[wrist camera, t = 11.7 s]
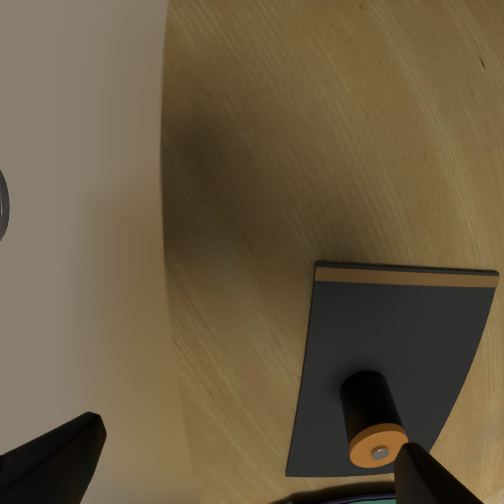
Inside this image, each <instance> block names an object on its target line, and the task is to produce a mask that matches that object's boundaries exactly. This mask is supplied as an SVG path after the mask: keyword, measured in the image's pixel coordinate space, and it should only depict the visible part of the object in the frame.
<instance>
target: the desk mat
mask: <svg viewBox="0 0 504 504" xmlns="http://www.w3.org/2000/svg"><path fill="white" fill-rule="evenodd" d="M499 277H500V276H499V273H498V272H497V271H481V270H462V269H443V268H424V267H406V266H388V265H370V264H353V263H335V262H318V261H316V265H315V275H314V285H313V295H312V304H311V313H310V321H309V329H308V337H307V345H306V353H305V360H304V367H303V374H302V381H301V388H300V394H299V401H298V407H297V413H296V419H295V425H294V431H293V437H292V442H291V448H290V453H289V459H288V464H287V469H286V475H285V476H286V477H347V476H364V475H376V474H387V473H394V461H395V460H394V461H392V462H390V463H388V464H386V465H383V466H379V467H373V468H364V467H359V466H357V465H355V464H354V463H353V462H352V461H351V459H350V455H349V446H348V440H347V433H346V427H345V421H344V415H343V409H342V404H341V398H340V389H341V386H342V384H343V383H344V382H345V381H346V380H347V379H348V378H349V377H350V376H352V375H353V374H355V373H358V372H361V371H367V370H372V371H376V372H379V373H381V374H382V375H383V376H384V377H385V378H386V381H387V383H388V386H389V388H390V391H391V394H392V396H393V399H394V402H395V405H396V407H397V410H398V413H399V416H400V418H401V421H402V424H403V427H404V430H405V432H406V435H407V437H408V443H409V442H417V443H418V444H419V445H421V446H422V447H423V448H424V449H425V450H426V451H427V452H428V453H429V452H430V450H431V448H432V447H433V445H434V443H435V441H436V440H437V438H438V436H439V434H440V432H441V430H442V428H443V426H444V424H445V422H446V420H447V418H448V416H449V414H450V412H451V410H452V408H453V406H454V404H455V402H456V400H457V398H458V395H459V393H460V391H461V389H462V386H463V384H464V382H465V379H466V377H467V374H468V372H469V369H470V367H471V364H472V362H473V359H474V356H475V354H476V351H477V348H478V345H479V342H480V340H481V337H482V334H483V331H484V327H485V324H486V321H487V318H488V315H489V311H490V308H491V304H492V300H493V297H494V293H495V289H496V287H497V285H498V281H499Z"/></svg>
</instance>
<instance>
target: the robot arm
mask: <svg viewBox="0 0 504 504" xmlns="http://www.w3.org/2000/svg"><path fill="white" fill-rule="evenodd" d="M106 436H107V433H106V429H105V427H104V424H103V421H102V419H101V416H100V415H99V414H96V413H93V412H86V413H84V414H82V415H80V416H78V417H76V418H74V419H73V420H71V421H69V422H67V423H65V424H63V425H61V426H59V427H57V428H55V429H53V430H51V431H49V432H47V433H45V434H43V435H41V436H40V437H37V438H35V439H34V440H31V441H29V442H27V443H25V444H23V445H21V446H19V447H17V448H15V449H13V450H11V451H9V452H7V453H5V454H4V455H0V504H80V502H81V500H82V498H83V496H84V494H85V492H86V490H87V488H88V485H89V483H90V481H91V479H92V477H93V475H94V472H95V469H96V466H97V463H98V460H99V457H100V454H101V451H102V448H103V446H104V443H105V440H106ZM394 477H395V494H396V504H484V503H483V502H481V501H480V500H479V499H478V498H477V497H476V496H475V495H474V494H473V493H472V492H470V491H469V490H468V489H467V488H466V487H465V486H464V485H463V484H462V483H461V482H459V481H458V480H457V479H456V478H455V477H454V476H453V475H452V474H451V473H450V472H449V471H447V470H446V469H445V468H444V467H443V466H442V465H441V464H440V463H439V462H438V461H437V460H436V459H434V458H433V457H432V456H431V455H430V454H429V453H428V452H427V451H426V450H425V449H424V448H423V447H422V446H421V445H419V444H418V443H417V442H409V443H404V444H403V445H402V446H401V448H400V450H399V452H398V454H397V456H396V458H395V461H394Z"/></svg>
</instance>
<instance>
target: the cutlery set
mask: <svg viewBox="0 0 504 504" xmlns="http://www.w3.org/2000/svg"><path fill="white" fill-rule="evenodd" d="M285 504H293V503H291V502H287V503H285ZM319 504H396V494H395V493H386V494H373V495H360V496H355V497H349V498H343V499H336V500H330V501H326V502H323V503H319Z"/></svg>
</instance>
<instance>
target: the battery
mask: <svg viewBox="0 0 504 504" xmlns="http://www.w3.org/2000/svg"><path fill="white" fill-rule="evenodd" d="M340 398H341V404H342V409H343V415H344V421H345V427H346V433H347V440H348V446H349V455H350V459H351V461H352V462H353V463H354V464H355V465H357V466H359V467H364V468H373V467H379V466H383V465H386V464H388V463H390V462H392V461H394V460H395V458H396V456H397V454H398V452H399V450H400V448H401V446H402V445H403V444H404V443H408V437H407V435H406V432H405V430H404V427H403V424H402V421H401V418H400V416H399V413H398V410H397V407H396V405H395V402H394V399H393V396H392V394H391V391H390V388H389V386H388V383H387V381H386V378H385V377H384V376H383V375H382V374H381V373H379V372H376V371H372V370H367V371H361V372H358V373H355V374H353V375H352V376H350V377H349V378H348V379H347V380H346V381H345V382H344V383H343V384H342V386H341V389H340Z"/></svg>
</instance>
